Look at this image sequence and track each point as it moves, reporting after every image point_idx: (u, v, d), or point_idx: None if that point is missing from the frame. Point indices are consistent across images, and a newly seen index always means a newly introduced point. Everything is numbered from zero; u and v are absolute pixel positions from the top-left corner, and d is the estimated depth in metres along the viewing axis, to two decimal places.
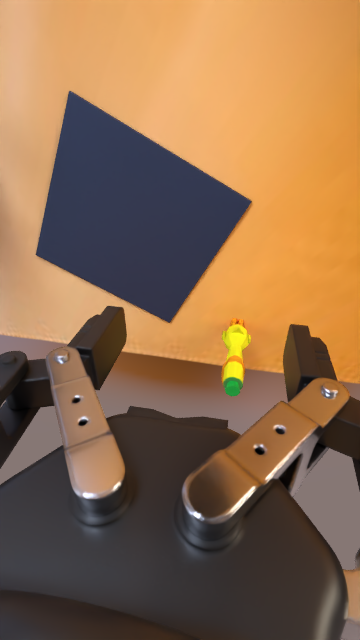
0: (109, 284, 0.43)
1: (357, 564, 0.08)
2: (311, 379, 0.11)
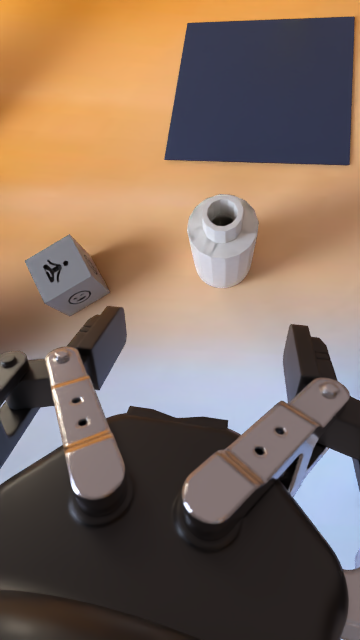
0: (340, 84, 0.36)
1: (357, 564, 0.08)
2: (311, 379, 0.11)
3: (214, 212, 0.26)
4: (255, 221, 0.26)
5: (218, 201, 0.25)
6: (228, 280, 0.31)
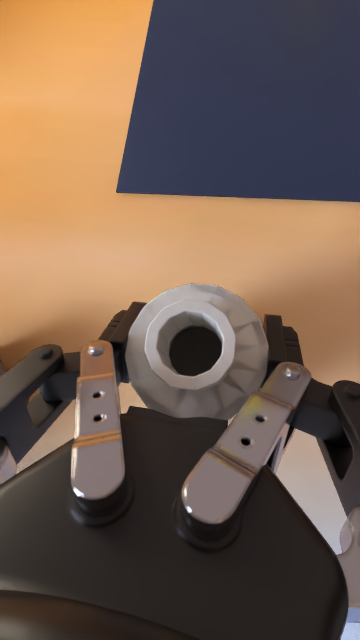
0: None
1: (343, 544, 0.08)
2: (278, 364, 0.12)
3: (177, 324, 0.13)
4: (261, 344, 0.13)
5: (182, 314, 0.11)
6: None
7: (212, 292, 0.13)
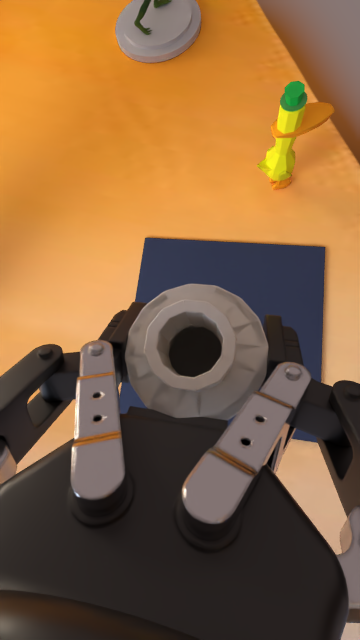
0: (309, 334, 0.33)
1: (343, 544, 0.08)
2: (278, 364, 0.12)
3: (177, 324, 0.13)
4: (261, 345, 0.13)
5: (182, 314, 0.11)
6: None
7: (212, 292, 0.13)
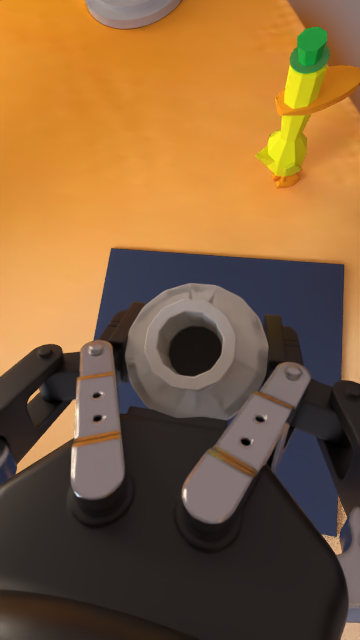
0: (323, 383, 0.24)
1: (343, 544, 0.08)
2: (278, 364, 0.12)
3: (177, 324, 0.13)
4: (261, 344, 0.13)
5: (182, 314, 0.11)
6: None
7: (212, 292, 0.13)
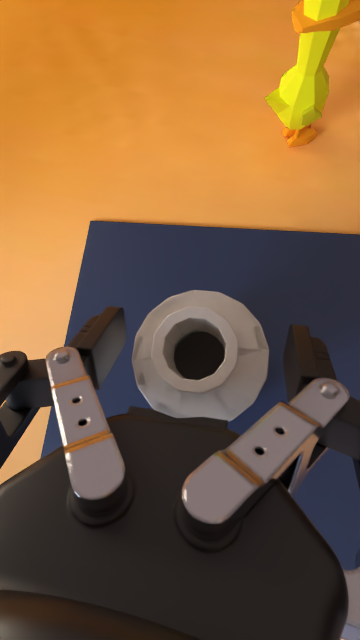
0: (350, 382, 0.19)
1: (357, 564, 0.08)
2: (311, 379, 0.11)
3: (181, 329, 0.13)
4: (262, 349, 0.13)
5: (187, 320, 0.12)
6: None
7: (215, 298, 0.14)
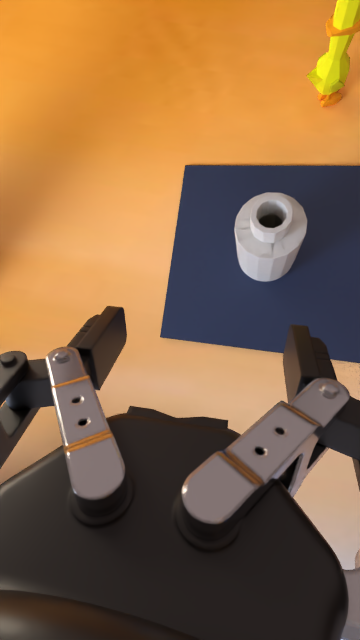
0: (355, 257, 0.32)
1: (357, 564, 0.08)
2: (311, 379, 0.11)
3: (261, 211, 0.26)
4: (303, 219, 0.26)
5: (267, 202, 0.25)
6: (272, 275, 0.31)
7: None
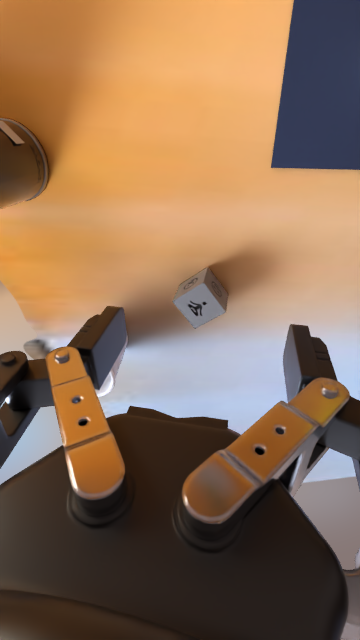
0: None
1: (357, 564, 0.08)
2: (311, 379, 0.11)
3: None
4: None
5: None
6: None
7: None
